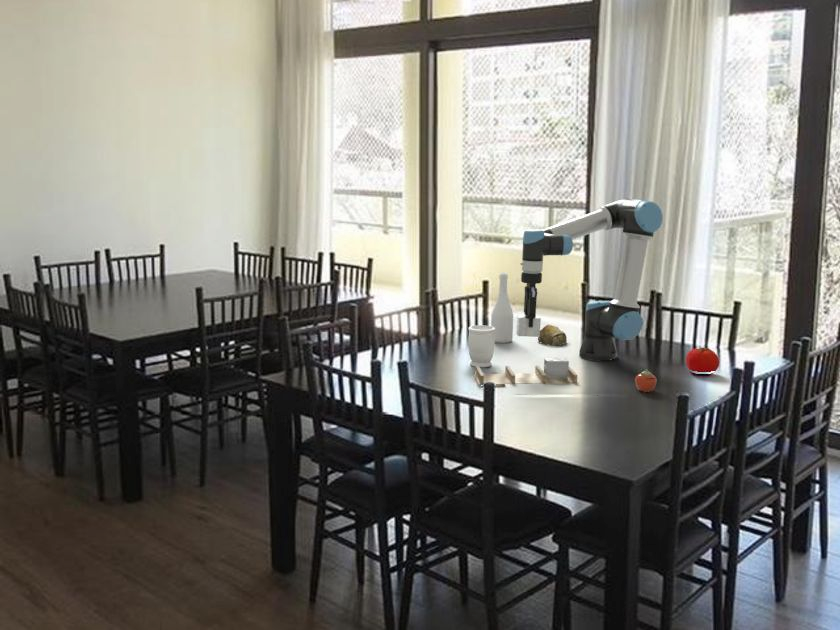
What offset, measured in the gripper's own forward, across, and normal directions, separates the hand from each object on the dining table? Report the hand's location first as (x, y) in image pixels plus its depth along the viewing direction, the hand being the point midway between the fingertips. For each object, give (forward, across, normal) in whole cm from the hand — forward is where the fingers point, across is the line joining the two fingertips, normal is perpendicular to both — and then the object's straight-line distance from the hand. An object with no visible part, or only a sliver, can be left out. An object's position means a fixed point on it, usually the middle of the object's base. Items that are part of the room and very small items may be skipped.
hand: (528, 334), depth 325 cm
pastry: (+15, -55, +20) cm, 60 cm away
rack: (+16, +10, -2) cm, 18 cm away
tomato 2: (+14, -1, +67) cm, 68 cm away
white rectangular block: (0, 0, 0) cm, 1 cm away
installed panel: (+14, +9, +9) cm, 19 cm away
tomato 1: (+15, +22, +38) cm, 47 cm away
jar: (+16, -14, -16) cm, 26 cm away
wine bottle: (+15, -57, -2) cm, 59 cm away
